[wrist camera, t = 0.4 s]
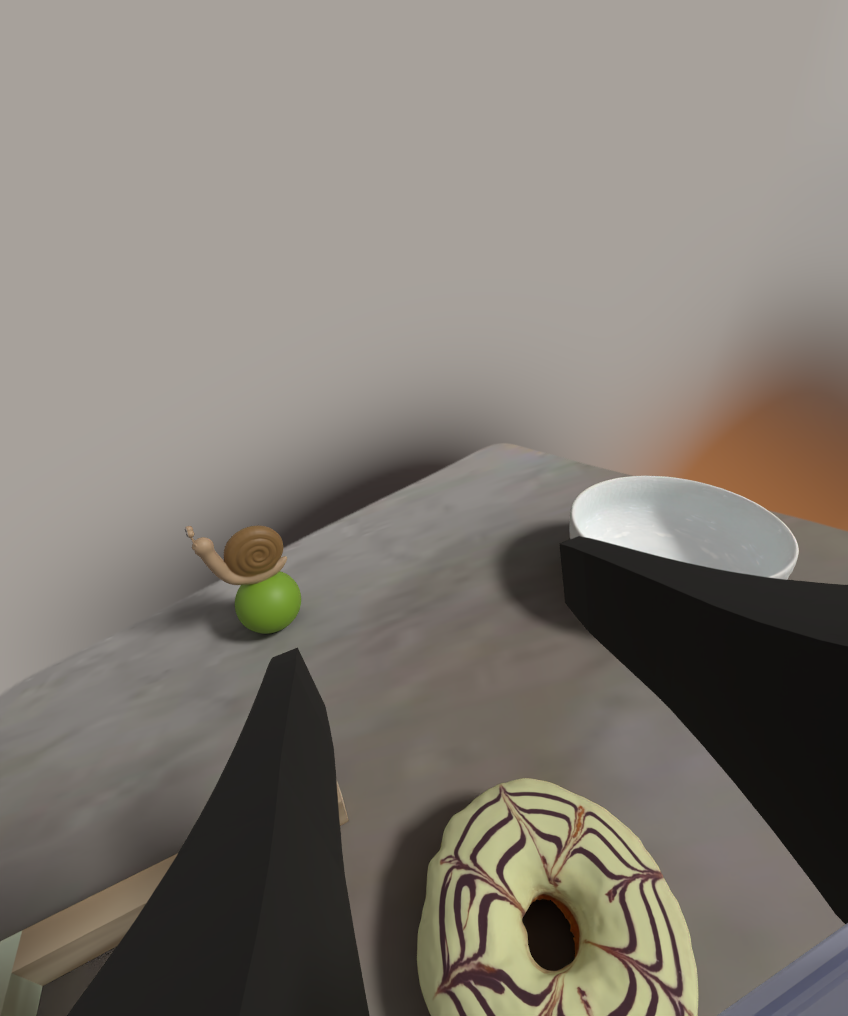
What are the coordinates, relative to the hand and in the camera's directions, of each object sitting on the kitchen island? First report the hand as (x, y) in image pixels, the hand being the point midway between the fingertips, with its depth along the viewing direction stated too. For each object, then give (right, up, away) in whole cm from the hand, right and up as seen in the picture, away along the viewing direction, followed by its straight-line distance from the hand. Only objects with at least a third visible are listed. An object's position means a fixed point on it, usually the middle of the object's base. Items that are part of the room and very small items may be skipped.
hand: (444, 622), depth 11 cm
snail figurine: (-14, -8, +27) cm, 32 cm away
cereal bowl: (+21, -4, +29) cm, 36 cm away
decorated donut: (+5, -18, +9) cm, 21 cm away
